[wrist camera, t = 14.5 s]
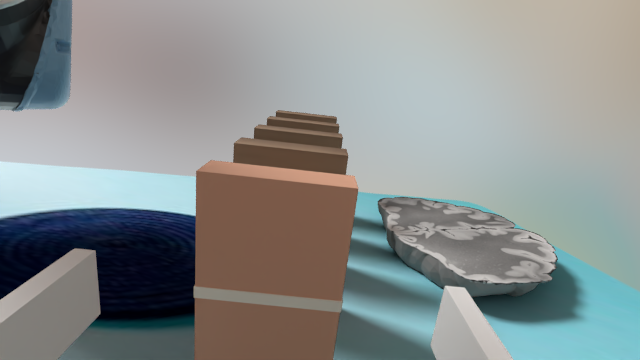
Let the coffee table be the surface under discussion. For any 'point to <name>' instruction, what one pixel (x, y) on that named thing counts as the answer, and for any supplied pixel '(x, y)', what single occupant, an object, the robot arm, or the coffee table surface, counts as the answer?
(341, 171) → the domino
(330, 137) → the domino
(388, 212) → the brain slice
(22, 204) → the coffee table surface
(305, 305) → the domino
